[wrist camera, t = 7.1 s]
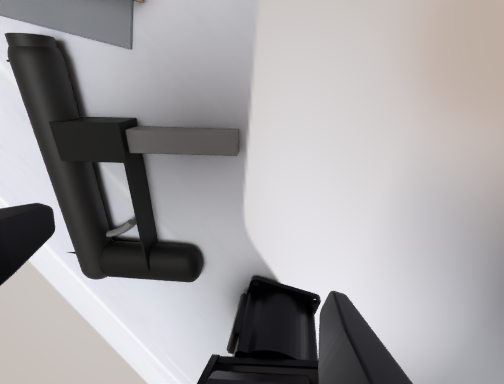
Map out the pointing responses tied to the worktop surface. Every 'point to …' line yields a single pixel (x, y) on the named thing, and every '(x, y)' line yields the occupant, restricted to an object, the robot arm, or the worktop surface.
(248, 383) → the robot arm
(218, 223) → the worktop surface
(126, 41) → the mat
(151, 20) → the worktop surface
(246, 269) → the worktop surface
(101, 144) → the door handle
